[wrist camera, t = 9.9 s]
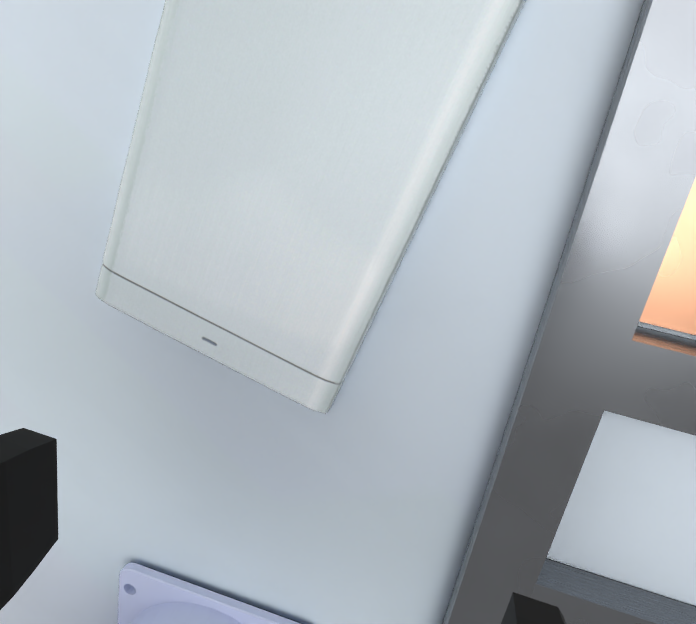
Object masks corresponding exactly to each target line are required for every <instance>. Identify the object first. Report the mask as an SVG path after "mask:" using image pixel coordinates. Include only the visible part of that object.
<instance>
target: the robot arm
mask: <svg viewBox="0 0 696 624" xmlns="http://www.w3.org/2000/svg"><path fill="white" fill-rule="evenodd" d="M57 540H58V502H57V442H56V439H55V438H52V437H49V436H46V435H43V434H40V433H37V432H34V431H31V430H28V429H25V428H22V429H18V430H15V431H12V432H8V433H5V434H2V435H0V610H1V609H2V608H3V607H4V606H5V605H6V604H7V602H8V601H9V600H10V599H11V598H12V597H13V596H14V595H15V594H16V592H17V591H18V590H19V589H20V587H21V586H22V585H23V584H24V582H25V581H26V580H27V579H28V578H29V576H30V575H31V574H32V573H33V571H34V570H35V569H36V567H37V566H38V565H39V563H40V562H41V561H42V559H43V558H44V557H45V555H46V554H47V553H48V552H49V550H50V549H51V548H52V546H53V545H54V544H55V542H56V541H57ZM118 624H300V623H297V622H295V621H292V620H289V619H287V618H284V617H281V616H278V615H276V614H273V613H270V612H267V611H265V610H262V609H259V608H257V607H254V606H251V605H248V604H246V603H243V602H240V601H237V600H235V599H232V598H229V597H227V596H224V595H221V594H218V593H216V592H213V591H210V590H207V589H205V588H202V587H199V586H197V585H194V584H191V583H188V582H186V581H183V580H180V579H177V578H175V577H172V576H169V575H167V574H164V573H161V572H158V571H156V570H153V569H150V568H147V567H145V566H142V565H139V564H136V563H127V564H126V565H125V566H124V567H123V569H122V570H121V571H120V574H119V599H118ZM501 624H566V622H565V619H564V616H563V615H562V613H561V611H560V609H559V608H558V607H556V606H553V605H550V604H547V603H544V602H542V601H539V600H536V599H533V598H530V597H527V596H524V595H521V594H518V593H515V592H513V593H512V596H511V598H510V601H509V604H508V606H507V609H506V612H505V614H504V617H503V619H502V622H501Z"/></svg>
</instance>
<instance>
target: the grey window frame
mask: <svg viewBox="0 0 696 624" xmlns="http://www.w3.org/2000/svg"><path fill="white" fill-rule="evenodd" d="M639 321H640V322H644V323H648V324H652V325H656V326H660V327H664V328H668V329H672V330H676V331H680V332H685V333H689V334H693V335H696V0H644V4H643V7H642V10H641V13H640V16H639V19H638V22H637V25H636V28H635V31H634V34H633V37H632V41H631V44H630V47H629V50H628V53H627V56H626V59H625V62H624V65H623V68H622V71H621V74H620V78H619V81H618V84H617V87H616V90H615V93H614V96H613V99H612V102H611V105H610V108H609V112H608V115H607V118H606V121H605V124H604V127H603V130H602V133H601V136H600V139H599V142H598V145H597V149H596V152H595V155H594V158H593V161H592V164H591V167H590V170H589V173H588V176H587V179H586V182H585V186H584V189H583V192H582V195H581V198H580V201H579V204H578V207H577V210H576V213H575V216H574V219H573V223H572V226H571V229H570V232H569V235H568V238H567V241H566V244H565V247H564V250H563V253H562V257H561V260H560V263H559V266H558V269H557V272H556V275H555V278H554V281H553V284H552V287H551V290H550V294H549V297H548V300H547V303H546V306H545V309H544V312H543V315H542V318H541V321H540V324H539V327H538V331H537V334H536V337H535V340H534V343H533V346H532V349H531V352H530V355H529V358H528V361H527V364H526V368H525V371H524V374H523V377H522V380H521V383H520V386H519V389H518V392H517V395H516V398H515V402H514V405H513V408H512V411H511V414H510V417H509V420H508V423H507V426H506V429H505V432H504V435H503V439H502V442H501V445H500V448H499V451H498V454H497V457H496V460H495V463H494V466H493V469H492V472H491V476H490V479H489V482H488V485H487V488H486V491H485V494H484V497H483V500H482V503H481V506H480V509H479V513H478V516H477V519H476V522H475V525H474V528H473V531H472V534H471V537H470V540H469V543H468V547H467V550H466V553H465V556H464V559H463V562H462V565H461V568H460V571H459V574H458V577H457V580H456V584H455V587H454V590H453V593H452V596H451V599H450V602H449V605H448V608H447V611H446V614H445V617H444V621H443V624H501V622H502V619H503V617H504V614H505V612H506V609H507V606H508V604H509V601H510V598H511V596H512V593H513V592H515V593H518V594H521V595H524V596H527V597H530V598H533V599H536V600H539V601H542V602H544V603H547V604H550V605H553V606H556V607H558V608H559V609H560V611H561V613H562V615H563V616H564V619H565V622H566V624H696V607H695V606H691V605H688V604H685V603H682V602H679V601H676V600H673V599H670V598H667V597H664V596H660V595H657V594H654V593H651V592H648V591H645V590H642V589H639V588H636V587H633V586H629V585H626V584H623V583H620V582H617V581H614V580H611V579H608V578H605V577H601V576H598V575H595V574H592V573H589V572H586V571H583V570H580V569H577V568H574V567H570V566H567V565H564V564H561V563H558V562H555V561H552V560H549V559H546V557H547V554H548V552H549V549H550V547H551V544H552V541H553V539H554V536H555V534H556V531H557V529H558V526H559V524H560V521H561V519H562V516H563V514H564V511H565V508H566V506H567V503H568V501H569V498H570V496H571V493H572V491H573V488H574V486H575V483H576V480H577V478H578V475H579V473H580V470H581V468H582V465H583V463H584V460H585V458H586V455H587V452H588V450H589V447H590V445H591V442H592V440H593V437H594V435H595V432H596V430H597V427H598V425H599V422H600V419H601V417H602V414H603V412H604V410H605V411H609V412H612V413H616V414H620V415H623V416H627V417H631V418H634V419H638V420H641V421H645V422H649V423H652V424H656V425H660V426H663V427H667V428H671V429H674V430H678V431H681V432H685V433H689V434H692V435H696V341H695V340H691V339H687V338H683V337H679V336H675V335H671V334H667V333H663V332H659V331H655V330H651V329H647V328H643V327H639V326H637V325H638V323H639Z"/></svg>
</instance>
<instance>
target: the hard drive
mask: <svg viewBox="0 0 696 624" xmlns="http://www.w3.org/2000/svg"><path fill="white" fill-rule="evenodd" d="M525 1H526V0H165V4H164V8H163V13H162V17H161V21H160V25H159V29H158V32H157V36H156V40H155V44H154V48H153V52H152V56H151V60H150V64H149V68H148V73H147V77H146V81H145V85H144V90H143V94H142V98H141V102H140V106H139V110H138V114H137V118H136V123H135V127H134V131H133V135H132V139H131V143H130V147H129V152H128V156H127V159H126V164H125V169H124V172H123V176H122V180H121V184H120V188H119V193H118V197H117V201H116V206H115V210H114V214H113V219H112V224H111V228H110V232H109V236H108V240H107V244H106V248H105V252H104V257H103V264H102V267H101V271H100V275H99V279H98V284H97V288H96V292H95V294H96V296H97V297H98V298H99V299H101V300H102V301H103V302H105V303H106V304H108V305H110V306H111V307H113V308H115V309H117V310H119V311H121V312H123V313H125V314H127V315H129V316H131V317H133V318H135V319H136V320H138V321H140V322H142V323H144V324H146V325H148V326H150V327H152V328H153V329H155V330H157V331H159V332H161V333H163V334H165V335H167V336H169V337H171V338H173V339H175V340H177V341H179V342H181V343H183V344H184V345H186V346H188V347H190V348H192V349H194V350H196V351H198V352H200V353H202V354H204V355H206V356H207V357H209V358H211V359H214V360H216V361H217V362H219V363H221V364H223V365H225V366H227V367H228V368H230V369H232V370H234V371H236V372H238V373H240V374H242V375H244V376H246V377H248V378H250V379H252V380H254V381H256V382H258V383H260V384H262V385H264V386H266V387H267V388H269V389H271V390H273V391H275V392H277V393H279V394H281V395H283V396H285V397H287V398H289V399H291V400H293V401H295V402H297V403H299V404H301V405H303V406H305V407H307V408H309V409H312V410H314V411H318V412H321V413H325V414H326V413H327V412H328V411H329V409H330V407H331V406H332V404H333V402H334V400H335V398H336V396H337V394H338V392H339V390H340V388H341V385H342V383H343V381H344V379H345V377H346V375H347V373H348V371H349V369H350V367H351V365H352V363H353V361H354V359H355V357H356V354H357V352H358V350H359V348H360V346H361V344H362V342H363V340H364V338H365V336H366V334H367V332H368V330H369V327H370V325H371V323H372V321H373V319H374V317H375V315H376V313H377V311H378V309H379V307H380V305H381V302H382V300H383V298H384V296H385V294H386V292H387V290H388V288H389V286H390V284H391V282H392V280H393V278H394V275H395V273H396V271H397V269H398V267H399V265H400V263H401V261H402V259H403V257H404V254H405V252H406V250H407V248H408V246H409V244H410V242H411V240H412V238H413V236H414V234H415V232H416V229H417V227H418V225H419V223H420V221H421V219H422V217H423V215H424V212H425V210H426V208H427V206H428V204H429V202H430V200H431V198H432V196H433V194H434V191H435V189H436V187H437V185H438V183H439V181H440V179H441V177H442V175H443V173H444V171H445V169H446V166H447V164H448V162H449V160H450V158H451V156H452V154H453V152H454V150H455V148H456V146H457V143H458V141H459V139H460V137H461V135H462V133H463V131H464V129H465V127H466V125H467V122H468V120H469V118H470V116H471V114H472V112H473V110H474V108H475V106H476V104H477V102H478V99H479V97H480V95H481V93H482V91H483V89H484V87H485V85H486V83H487V81H488V78H489V76H490V74H491V72H492V70H493V68H494V66H495V64H496V62H497V60H498V57H499V55H500V53H501V51H502V49H503V47H504V45H505V43H506V41H507V39H508V36H509V34H510V32H511V30H512V28H513V26H514V24H515V22H516V20H517V18H518V16H519V13H520V11H521V9H522V7H523V5H524V3H525Z"/></svg>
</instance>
